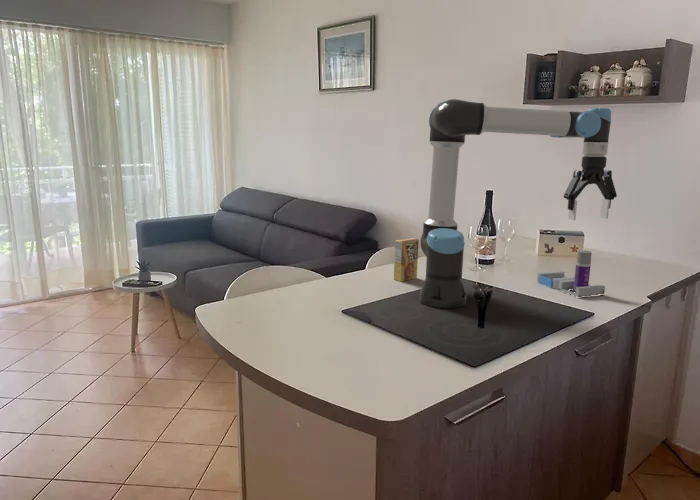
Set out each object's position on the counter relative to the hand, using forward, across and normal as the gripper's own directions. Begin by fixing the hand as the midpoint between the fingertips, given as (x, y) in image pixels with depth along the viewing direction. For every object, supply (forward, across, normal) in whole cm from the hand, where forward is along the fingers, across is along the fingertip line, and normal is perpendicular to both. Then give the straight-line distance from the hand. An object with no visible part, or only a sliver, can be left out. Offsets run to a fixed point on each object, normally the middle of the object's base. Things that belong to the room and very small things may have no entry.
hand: (588, 218), depth 183 cm
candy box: (+26, -52, +34) cm, 68 cm away
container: (+27, 0, 0) cm, 27 cm away
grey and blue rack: (+26, 0, +6) cm, 27 cm away
